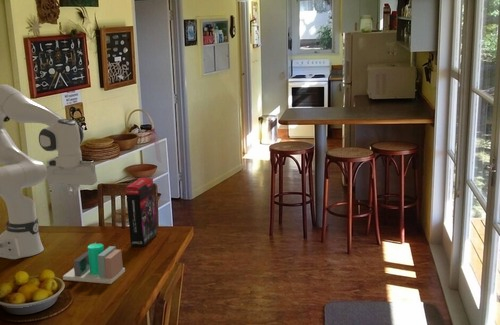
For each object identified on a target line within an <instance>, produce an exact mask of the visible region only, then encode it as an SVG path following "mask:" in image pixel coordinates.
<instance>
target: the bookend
mask: <svg viewBox="0 0 500 325" xmlns="http://www.w3.org/2000/svg"><path fill="white" fill-rule="evenodd" d="M73 268H74V272H75V276H82V275H83V274H84V273H85V272H87V271H88V270H89V269H90V267H89V256H88V250H87V251H85V252H83V253H82V254H80V255H79V256H78V257H77V258H76V259H74V260H73Z"/></svg>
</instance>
